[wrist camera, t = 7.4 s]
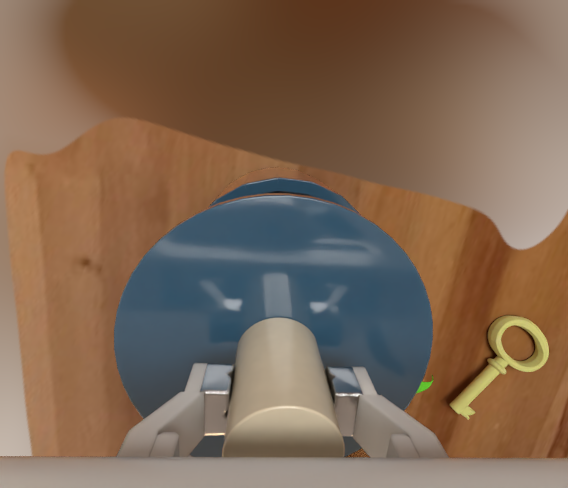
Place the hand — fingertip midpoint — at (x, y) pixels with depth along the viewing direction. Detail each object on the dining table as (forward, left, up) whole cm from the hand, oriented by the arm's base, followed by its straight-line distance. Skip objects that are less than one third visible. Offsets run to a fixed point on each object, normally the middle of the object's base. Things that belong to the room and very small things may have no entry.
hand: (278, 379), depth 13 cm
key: (-25, +12, -19) cm, 33 cm away
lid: (0, 0, -2) cm, 2 cm away
